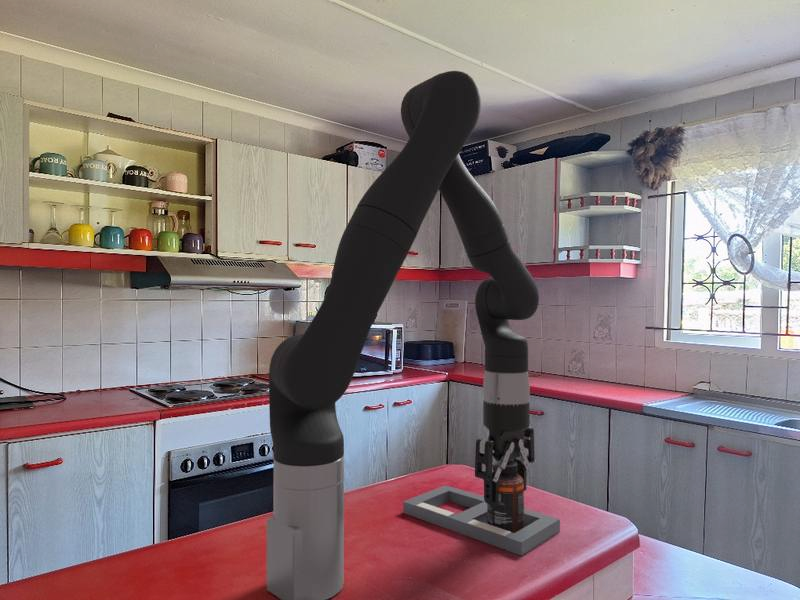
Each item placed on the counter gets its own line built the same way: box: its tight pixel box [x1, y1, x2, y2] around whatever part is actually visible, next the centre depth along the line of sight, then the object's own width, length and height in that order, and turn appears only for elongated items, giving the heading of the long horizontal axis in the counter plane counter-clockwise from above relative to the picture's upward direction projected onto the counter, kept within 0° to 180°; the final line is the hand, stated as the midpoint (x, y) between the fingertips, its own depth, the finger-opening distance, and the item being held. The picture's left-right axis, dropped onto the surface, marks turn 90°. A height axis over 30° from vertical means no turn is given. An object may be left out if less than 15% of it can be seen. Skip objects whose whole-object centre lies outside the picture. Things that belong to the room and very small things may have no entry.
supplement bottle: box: [487, 460, 525, 533], centre depth 91 cm, size 6×6×11 cm
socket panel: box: [402, 484, 561, 556], centre depth 95 cm, size 12×24×2 cm, turn 47°
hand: (506, 496), depth 91 cm, fingers open, 8 cm apart
